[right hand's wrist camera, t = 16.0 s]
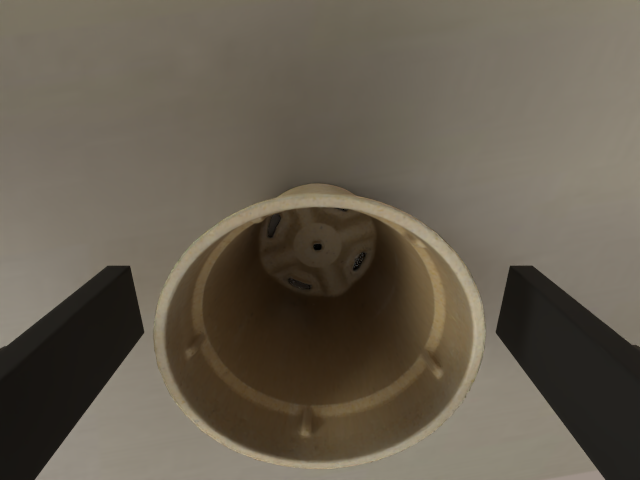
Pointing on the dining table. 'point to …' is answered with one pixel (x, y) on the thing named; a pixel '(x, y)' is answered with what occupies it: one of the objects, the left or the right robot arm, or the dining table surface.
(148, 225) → the dining table surface
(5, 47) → the dining table surface
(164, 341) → the plant pot
